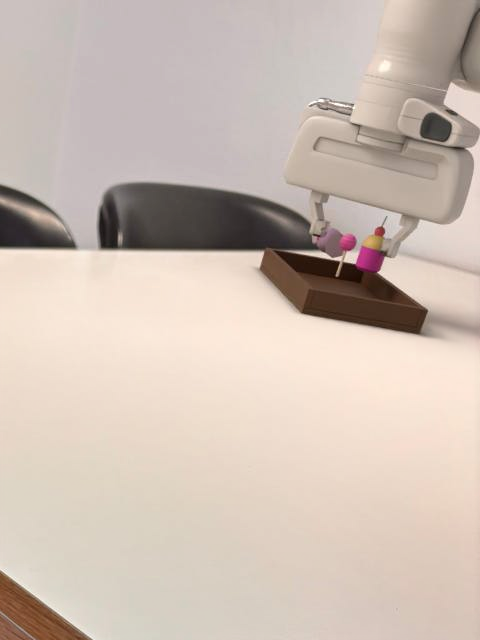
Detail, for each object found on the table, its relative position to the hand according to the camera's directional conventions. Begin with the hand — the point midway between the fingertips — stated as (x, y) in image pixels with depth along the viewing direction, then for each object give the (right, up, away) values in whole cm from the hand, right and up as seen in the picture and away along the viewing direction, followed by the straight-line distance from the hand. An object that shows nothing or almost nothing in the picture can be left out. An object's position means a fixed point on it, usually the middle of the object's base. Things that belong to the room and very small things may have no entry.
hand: (351, 246), depth 121 cm
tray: (-1, -5, +3) cm, 6 cm away
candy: (-1, -2, +2) cm, 2 cm away
